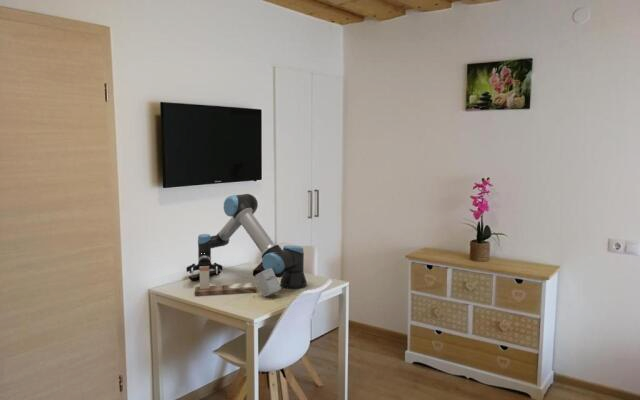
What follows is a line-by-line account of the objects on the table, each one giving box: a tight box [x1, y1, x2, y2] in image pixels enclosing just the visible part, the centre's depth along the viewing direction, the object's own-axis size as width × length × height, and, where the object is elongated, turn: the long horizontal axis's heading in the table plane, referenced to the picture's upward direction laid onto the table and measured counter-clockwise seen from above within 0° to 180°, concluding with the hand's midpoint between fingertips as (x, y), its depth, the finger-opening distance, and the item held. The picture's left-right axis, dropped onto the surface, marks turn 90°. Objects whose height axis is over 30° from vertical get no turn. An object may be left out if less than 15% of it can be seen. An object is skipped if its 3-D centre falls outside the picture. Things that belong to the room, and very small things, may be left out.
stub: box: [198, 266, 210, 289], centre depth 277 cm, size 5×2×12 cm, turn 102°
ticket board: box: [194, 282, 258, 297], centre depth 281 cm, size 33×10×3 cm, turn 102°
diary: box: [252, 261, 283, 278], centre depth 325 cm, size 19×25×5 cm
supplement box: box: [254, 268, 282, 297], centre depth 272 cm, size 7×7×13 cm
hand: (204, 272), depth 286 cm, fingers open, 13 cm apart
